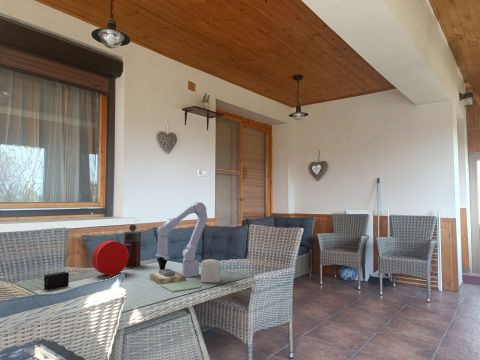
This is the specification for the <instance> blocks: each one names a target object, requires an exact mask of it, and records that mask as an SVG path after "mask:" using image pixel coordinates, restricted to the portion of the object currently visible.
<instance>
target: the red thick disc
mask: <svg viewBox="0 0 480 360" xmlns="http://www.w3.org/2000/svg"><path fill="white" fill-rule="evenodd" d="M128 258H129V254H128V250H127V248H126V246H125V245H124V243H122V242H120V241H116V240H105V241H103V242H101V243H99V244H98V245H97V247H95V249H94V251H93V253H92V259H91V260H92V261H91V263H92V265H93V267H94V269H95V271H97V272H98V273H99V274H103V275H105V276H114V275H113V274H116V275H118V274H120V273H121V272H123V270H124V269H125V268H126V267H125V266H126V265H127V262H128Z"/></svg>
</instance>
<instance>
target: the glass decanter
mask: <svg viewBox="0 0 480 360" xmlns="http://www.w3.org/2000/svg"><path fill="white" fill-rule="evenodd" d="M141 242H142V231H141V230H137V225H136V224H134V223H133V224H130V225H129V230H127V231H125V232H124V236H123V244H124V245H125V246H126V248H127V250H128V254H129V258H128V262H127V265H126V266H125V268H138V267H140V266H141V247H142V246H141V245H142V243H141Z"/></svg>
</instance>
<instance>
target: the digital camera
mask: <svg viewBox="0 0 480 360" xmlns="http://www.w3.org/2000/svg"><path fill="white" fill-rule="evenodd" d="M69 279H70V272H68V271H60V272H55V273H47V274H44V277H43V282H44V283H43V284H44V285H43V286H44V288H43V289H44V290H47V291H51V290H57V289H59V288H65V287H68V286H69Z"/></svg>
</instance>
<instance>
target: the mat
mask: <svg viewBox="0 0 480 360" xmlns="http://www.w3.org/2000/svg"><path fill="white" fill-rule="evenodd" d="M159 286H160V287H162V288H164V290H165V289H166V290H168V291H169V292H171V293H176V292H181V291H188V290H190V291H191V290H195V289H201V288H202V286H201V285H198V284H196V283H194V282H192V281H190V280H187V279H186V281H179V282H172V283H165V284H160V285H159Z"/></svg>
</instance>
